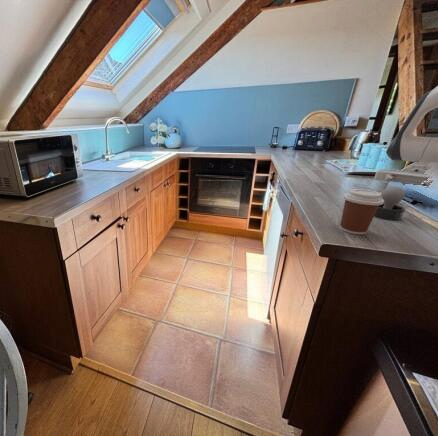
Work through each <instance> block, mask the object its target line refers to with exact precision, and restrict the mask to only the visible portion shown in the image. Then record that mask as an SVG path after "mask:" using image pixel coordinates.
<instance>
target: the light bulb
mask: <svg viewBox="0 0 438 436" xmlns="http://www.w3.org/2000/svg"><path fill="white" fill-rule="evenodd" d="M380 194H381V198H382V199H383V200H384V206H383V208H385V209H391V210H392V208H393V206H394V205H397V204H398V203H400V202H401V201H403V199H404V198H405V195H406V193H405V190H404V189H402V187H399V186H388V187H386V188H384V189H383V190H382V192H381V193H380Z"/></svg>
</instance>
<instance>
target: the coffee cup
mask: <svg viewBox="0 0 438 436" xmlns="http://www.w3.org/2000/svg"><path fill="white" fill-rule="evenodd" d="M381 194H382V193H381V192H378V191H376V190H371V189H365V188H352V189H350V190H349V191H348V192H347V193H344V195H343V196H342V198H343V199H344V204H343V208H342V214H341V219H340V224H339V229H340V230H342V231H344V232H346V233H350V234H354V235H366V233H367V232H368V231H369V228H370V226H371V224H372V222H373V220H374V218H375V216H374V215H375V213H376V211H377V209H378V207H379V205H382V204H383V203H384V200H383V199H382V197H381Z"/></svg>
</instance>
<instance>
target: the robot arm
mask: <svg viewBox="0 0 438 436" xmlns="http://www.w3.org/2000/svg"><path fill="white" fill-rule="evenodd" d="M437 108H438V85H437V86H436V87H434V88H433V89H431V90H428V91H426V92H425V93H424V94H423V95H422V96H421V98H420V99H419V100H418V101H417V103H416V104H415V106H414V107H413V108H412V110H411V112H410V113H409V115H408V116H407V118H406V120H405V121H404V123H403V124H402V126H401V128H399V130H398V132H397V133H396V135H395V136H394V138H393V139H392V140H391V141H390V142H389V144H388V146H387V148H386V151H385V154H386V155H387V157H388V158H389V159H390V160H392V161H400V162H401V161H402V162H403V161H404V162H413V164H411V165H409V166H406V167H404V168H402V170H400V169H391V168H382V169H377V170H376V171H375V174H374V180H377V181H384V182H390V183H399V184H401V185H402V186H404V185H405V184H413V185H422V186H427V187H426V188H429V187H428V186H429V185H430V183H432V182H433V180H429V181H428V180H427V179H428V178H432V176H429V175H427V174H424V173H425V171H426V170H428V169H430V168H432V167H431V166H428V163H431V162H438V137H430V136H419V135H418V136H417V135H414V132H415V131H416V129H417V128H418V126H419V125H420V123H421V122H422V120H423V119H424V117H425V116H426V115H427V114H428V113H429V112H431V111H433V110H434V109H435V110H436V109H437ZM422 182H423V183H424V184H421V183H422Z"/></svg>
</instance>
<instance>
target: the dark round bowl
mask: <svg viewBox="0 0 438 436" xmlns="http://www.w3.org/2000/svg"><path fill="white" fill-rule="evenodd" d="M383 206H384V203H383V204H382V205H379V207H378V209H377V211H376V213H375V215H374V218H378V219H381V220H386V221H400V220H402V218H403V215H404V213H405V211H406V209H405V207H402V206H400V205H397V204H395V205H394V206H393V208H392V210H391V209H385V208H383Z"/></svg>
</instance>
